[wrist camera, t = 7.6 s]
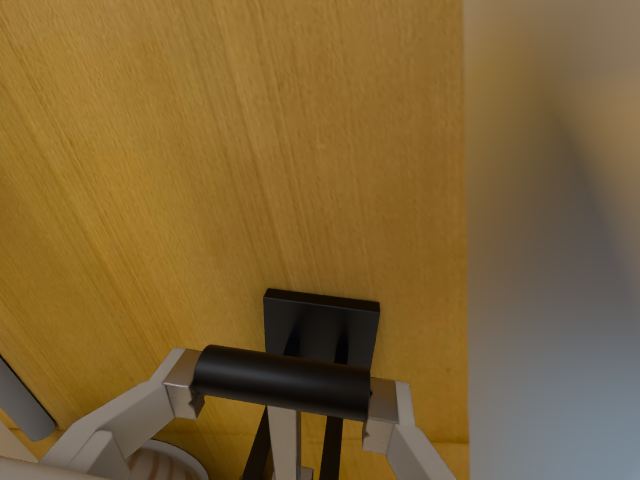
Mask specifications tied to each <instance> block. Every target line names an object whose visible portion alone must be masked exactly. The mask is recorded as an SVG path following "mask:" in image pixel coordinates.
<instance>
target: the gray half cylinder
mask: <svg viewBox="0 0 640 480" xmlns="http://www.w3.org/2000/svg"><path fill="white" fill-rule="evenodd" d="M0 407H1V408H2V409H3V410H4V411H5V412H6V413H7V414H8V416H9V417H10V418H11V419H12V420H13V421H14V422H15V423H16V424H17V425H18V427H19V428H20V429H21V430H22V431H23V432H24V433H25V434H26V435H27V436H28V438H29V439H30V440H32V441H39V440H42V439H44V438H46V437H47V436H49V435H50V434H51V433H52V432H53V431H54V429H55V424H54V422H53V421H52V420H51V418H50V417H49V416H48V415H47V414H46V412H45V411H44V410H43V409H42V407H41V406H40V405H39V404H38V403H37V401H36V400H35V399H34V398H33V397H32V395H31V394H30V393H29V392H28V391H27V389H26V388H25V387H24V386H23V385H22V383H21V382H20V381H19V380H18V379H17V377H16V376H15V375H14V374H13V373H12V371H11V370H10V369H9V368H8V367H7V365H6V364H5V363H4V362H3V361H2V359H1V358H0Z"/></svg>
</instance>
